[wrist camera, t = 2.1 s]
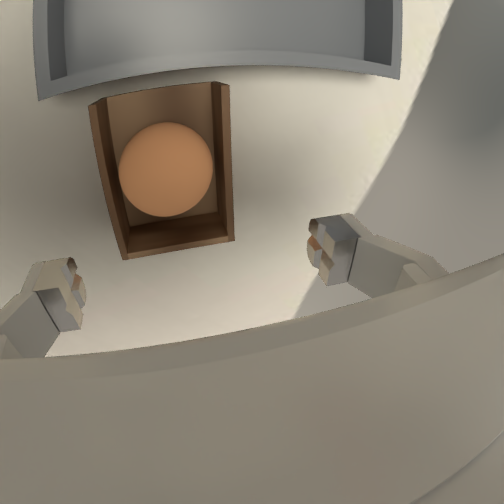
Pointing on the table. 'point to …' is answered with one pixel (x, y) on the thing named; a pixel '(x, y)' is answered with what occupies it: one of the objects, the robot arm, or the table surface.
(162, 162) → the ball
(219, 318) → the table surface
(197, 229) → the small wooden box
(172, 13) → the tray
